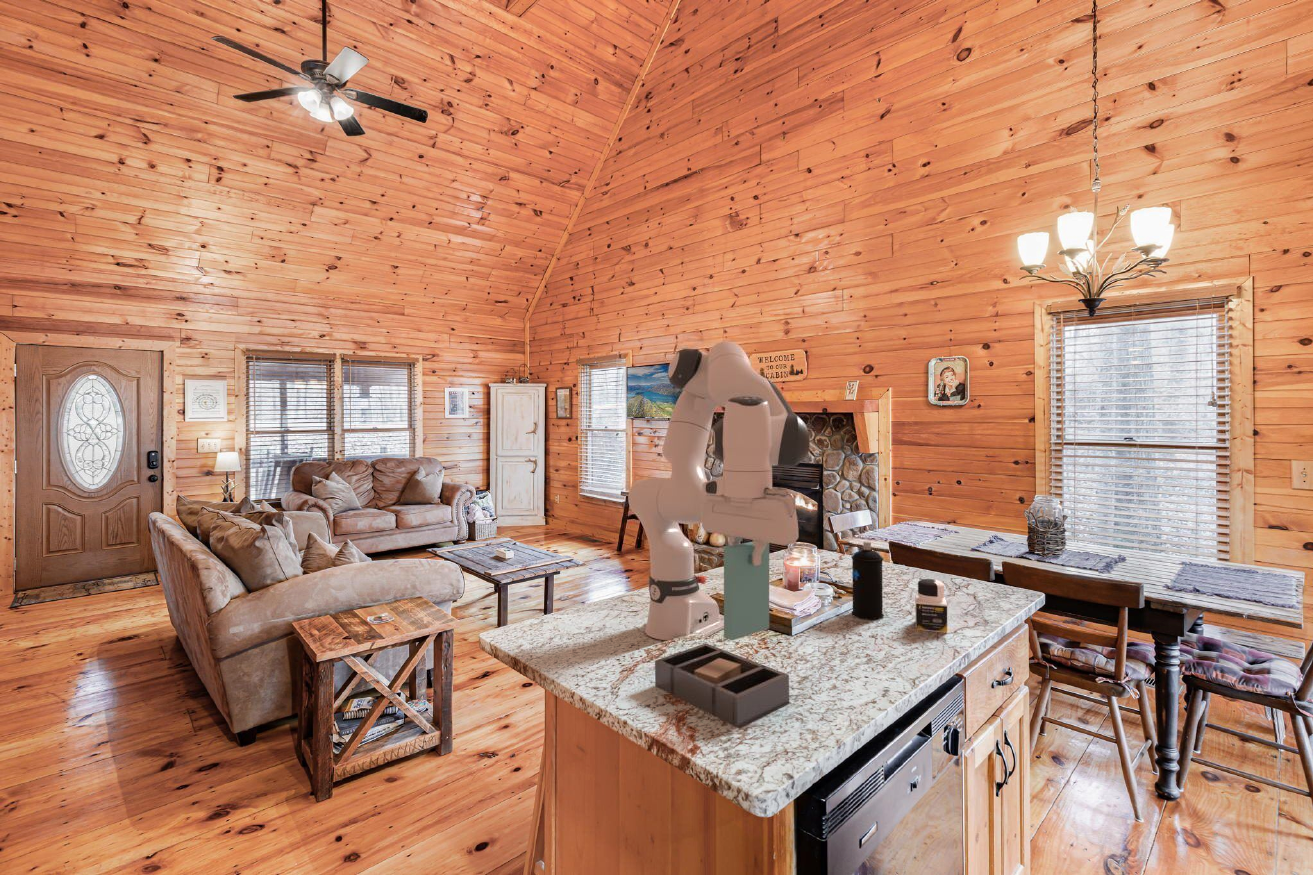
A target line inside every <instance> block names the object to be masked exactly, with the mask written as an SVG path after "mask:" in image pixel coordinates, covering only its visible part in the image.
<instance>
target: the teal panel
mask: <svg viewBox="0 0 1313 875" xmlns="http://www.w3.org/2000/svg"><path fill="white" fill-rule="evenodd" d="M754 549H755V546H753V541H750V542H749V541H748V542H744V543H741V544H737V545H732V546H731V545H727V546H724V547H723V618H724V628H723V638H724V639H727V640H730V641H734V640H738V639H741V638H744V637H747V636H751V635H753V634H756V633H759V632H762V631H765V630H768V629H769V630H770V543H767V546H766V548H765V549H764V551H763V553H762V555H761V564H760V565H751V564H749V562H748V561H749V558H748V555H749V554H753V551H754Z"/></svg>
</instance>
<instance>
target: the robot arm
mask: <svg viewBox="0 0 1313 875" xmlns="http://www.w3.org/2000/svg"><path fill="white" fill-rule="evenodd" d="M668 380H669V383H670V385H672V386H673V387H675V388H676V389H678V390H683V391H682V392H681V394H680V395H679V397H678V399H677V400H676V402H675V405H674V407H673V410H672V413H671V416H670V418H669V419H670V420H669V422H668V426H667V429H666V435H665V438H664V441H663V446H662V455H663V457H664V459H666V460H667V462H668V463H669V464H670V466H671V475H670V477H669V478H668V477H667V478H666V477H648V478H643V479H638V480H636V481H634V482H633V484H632V485H631V486H630V489H629V491H628V496H627V497H628V498H627V499H628V500H627V501H628V505H629V508H630V510H631V511H632V513H634V515H635V516H636V517H637V519H638V520H639V521H640V523H641V525H642V527H643V530H644V532H645V535H646V538H647V543H648V547H649V561H650V563H649V564H650V575H649V576H648V591H649V597H650V598H649V606H648V615H647V620H646V625H645V629H644V633H645V634H646V636H648V637H650V638H653V639H657V640H661V641H662V640H663V641H670V640H673V639H677V638H679V637H682V636H690V635H691V634H693V633H697V634H700V635H702V636H704V637H709V636H712V635H714V634H715V633H717V632H719V631H721V630H724V616H723V617H722V616H720V607H719V605H718V603H717V601H716V600H715V599H714V598H712V597H711V596H710V595H708V594H707V593H706V592H705V591H704V590H702V589H701V588H700V585H699V584H701V585H705V584H706V583H707V577H706V576H705V575H701V574H699V575H696V574H695V561H694V560H695V559H694V558H695V557H694V556H695V555H694V551H695V550H694V545H693V543H692V541H691V540H690V539H689V538H687V537H686V535H684V533H683V531H682V529H681V527H680V524H684V525H697V524H701V527H702V529H703V531H704V532H706V533H712V534H717V535H722V536H728V543H729V546H732V545H737V544H742V543H741V542H742V541H743V539H745V540H752V542H753V546H755V549H754V551H753V554H749V555H748V558H749V561H748V562H749V564H751V565H760V564H761V555H762V553H763V551H764V549H765V548H766V546H767V543H769V544H774V545H779V546H780V545H781V546H788V545H789V546H790V545H793V544H795V543H797V540H798V539H799V523H798V515H797V510H796V508H797V507H796V498H795V497H794V495H793V494H792V493H791V492H789V490H788V489H784V488H783V489H778V488H773V466H774V467H775V466H778V467H782V468H794V467H796V466H798V465H799V464H800V463H801V462H803V460H804V459H805V458H806V457H807V456H808V455H809V452H810V434H809V430H808V427H807V425H806V423H805V421H803V420H802V419H801V417H799V415H797V414H796V413H794V411H793V409H792V407H791V406H790V405H789V403H788V401H787V400H786V399H785V397H784V396H783V394H782V393H781V391H780V390H779V388H778V387H777V386H776V384H775V383H774V382H773V381H771V380H769V379H768V378H766V377H764V376H763V375H761V374H759V373H758V372H757V371H756V370H755V369H754V368H753V367H752V364H751V361H750V359H749V356H748V355H747V353H746V352H745V350H744V349H743V347H741V345H739V344H738V343H736V342H734V341H730V340H723V341H720V342H717V343H716V344H714V345H712V347H711V348H710V349H709V351H708V353H707V352H703V351H700V350H699V349H698V348H681V349H680V350H678V351H677V352H676V353H675V355H673V357H672V358H671V360H670V363H669V366H668ZM720 406H721V410H722V411H723V412H724V414H723V415H724V416H723V417H722V418H720V419H719V421H717V422H716V423H715V424H714V425H713V427H712V423H713V417H714V413H715V411H716V410H717V409H718V407H720ZM711 428H712V434H713V449H712V453H711V454H712V455H713V456H714V457H715V458H716V459H717V460H718V461H719V462H720V463H722V476H719V477H716V478H713V479H710V480H708V479H707V476H706V470H705V458H706V453H707V452H706V451H707V447H708V442H709V438H710V434H711Z"/></svg>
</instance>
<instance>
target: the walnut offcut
mask: <svg viewBox="0 0 1313 875" xmlns="http://www.w3.org/2000/svg"><path fill="white" fill-rule="evenodd" d="M694 675H695V676H697V677H699V678H702V679H704V680H706V681H708V682H711V683H713V684H715V685H716V684H719V683H721V682H724V681H726V680H728V679H731V678H733V677H736V676H738V675H741V664H737V663H734V662H731V661H728V660H724V659H721V658H718V659H716V660H714V661H712V662H710V663H708V664H707V665H705V666H703V667H701V668H699V669H697V670H695V671H694Z"/></svg>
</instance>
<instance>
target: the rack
mask: <svg viewBox="0 0 1313 875" xmlns="http://www.w3.org/2000/svg"><path fill="white" fill-rule="evenodd" d="M718 658H721V659H724V660H728V661H731V662H734V663H737V664H741V675H738V676H736V677H733V678H731V679H728V680H726V681H724V682H721V683H719V684H716V685H715V684H713V683H711V682H708V681H706V680H704V679H702V678H699V677H697V676H695V675H694V671H695V670H697V669H699V668H701V667H703V666H705V665H707V664H708V663H710V662H712V661H714V660H716V659H718ZM654 678H655V684H654V685H655V686H654V687H655V688H658V689H660V690H661V691H664V692H666V693H667V694H670V695H672V696H674V697H676V698H678V699H680V700H682V701H684V702H686V703H687V704H690V705H691V706H694V707H696V708H697V709H700V710H702V711H704V712H706V713H708V714H709V715H712V716H713V717H715V718H718V719H719V720H721V721H724V722H725V723H727V724H730V725H731V726H733V727H736V728H737V729H740V730H741V729H742V728H745V727H746V726H748V725H750V724H753V723H754V722H756V721H758V720H760V719H762V718H764V717H766V716H768V715H770V714H772V713H775V712H776V711H778V710H781V709H782V708H785V707H786V706H789V705H791V704H792V702H790V675H789V674H788V673H785V672H782V671H779V670H778V669H774V668H772V667H770V666H767V665H764V664H761V663H759V662H756V661H755V660H751V659H749V658H746V657H743V656H740V655H738V654H735V653H733V652H730V651H727V650H725V649H721V648H720V647H717V646H714V645H712V644H709V643H703V644H699V645H697V646H694V647H691V648H688V649H686V650H682V651H679V652H677V653H673V654H671V655H667V656H665V657H662V658H659V659H656V660H654Z"/></svg>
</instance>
